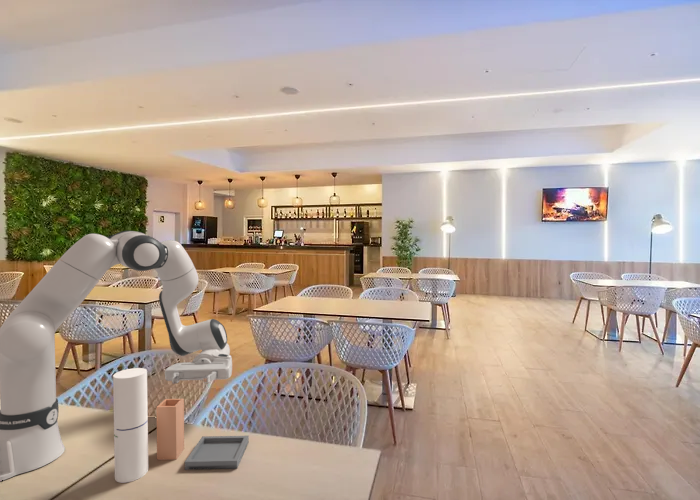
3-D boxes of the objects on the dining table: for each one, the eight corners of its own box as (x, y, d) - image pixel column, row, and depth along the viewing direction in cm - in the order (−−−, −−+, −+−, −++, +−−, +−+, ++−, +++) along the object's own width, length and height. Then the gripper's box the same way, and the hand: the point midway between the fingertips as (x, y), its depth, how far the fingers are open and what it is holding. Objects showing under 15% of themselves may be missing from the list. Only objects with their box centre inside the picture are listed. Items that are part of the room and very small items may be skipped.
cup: (157, 459, 97) (156, 407, 97) (165, 449, 102) (165, 398, 102) (176, 459, 97) (175, 406, 97) (184, 448, 102) (183, 398, 102)
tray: (184, 469, 93) (184, 461, 93) (202, 443, 105) (202, 436, 105) (237, 468, 93) (237, 460, 93) (248, 442, 105) (248, 435, 105)
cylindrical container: (133, 484, 87) (131, 379, 87) (107, 480, 89) (105, 377, 88) (154, 466, 94) (153, 369, 94) (130, 462, 96) (129, 367, 95)
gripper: (175, 356, 125) (154, 371, 111) (235, 355, 126) (223, 369, 112) (175, 374, 126) (155, 391, 112) (236, 373, 126) (224, 390, 112)
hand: (190, 380), depth 112 cm, fingers open, 8 cm apart
